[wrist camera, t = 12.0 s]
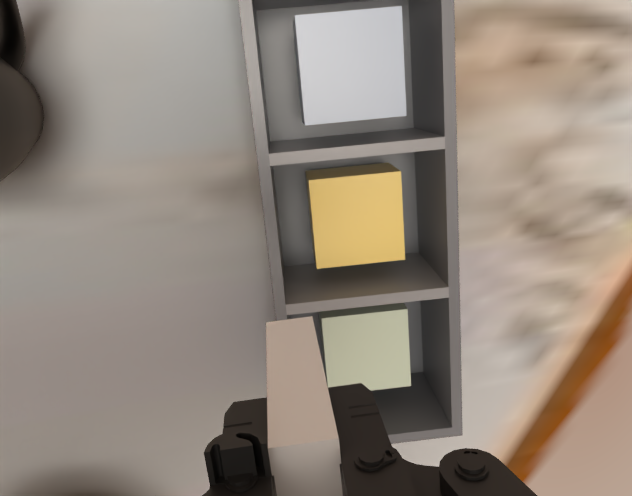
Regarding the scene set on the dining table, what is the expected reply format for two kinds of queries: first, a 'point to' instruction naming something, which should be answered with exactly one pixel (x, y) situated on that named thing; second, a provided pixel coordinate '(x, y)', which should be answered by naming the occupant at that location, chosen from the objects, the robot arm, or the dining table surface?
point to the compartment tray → (417, 196)
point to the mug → (15, 94)
